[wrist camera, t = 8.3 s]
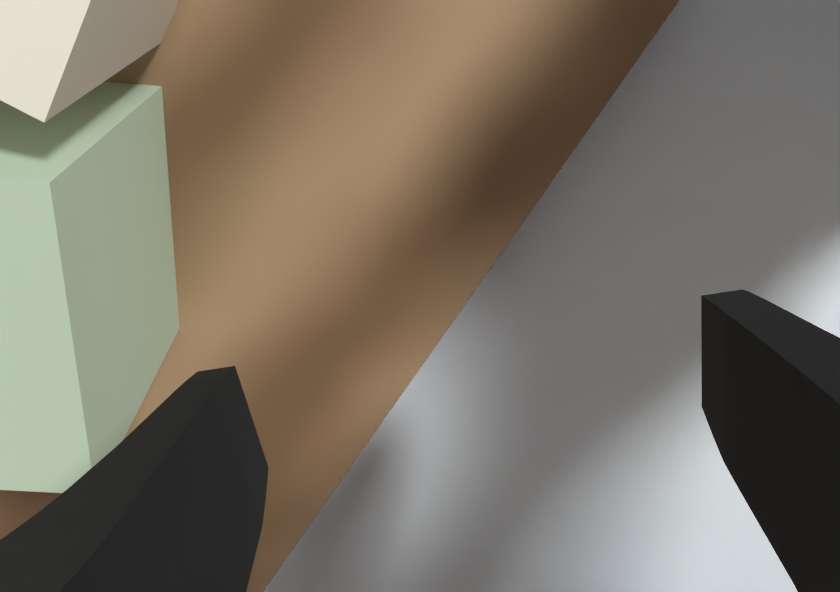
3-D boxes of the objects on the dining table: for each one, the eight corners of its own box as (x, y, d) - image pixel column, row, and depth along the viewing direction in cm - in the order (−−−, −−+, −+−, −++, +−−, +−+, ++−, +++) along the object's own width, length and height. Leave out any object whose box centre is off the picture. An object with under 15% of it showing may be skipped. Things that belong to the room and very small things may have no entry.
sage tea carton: (161, 85, 18) (49, 182, 13) (179, 328, 22) (95, 494, 16) (-22, 72, 18) (-220, 164, 13) (22, 318, 21) (-121, 483, 16)
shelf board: (675, -31, 19) (730, -10, 16) (243, 594, 28) (221, 688, 25) (-8, -511, 15) (-126, -619, 12) (-243, 405, 24) (-344, 488, 21)
